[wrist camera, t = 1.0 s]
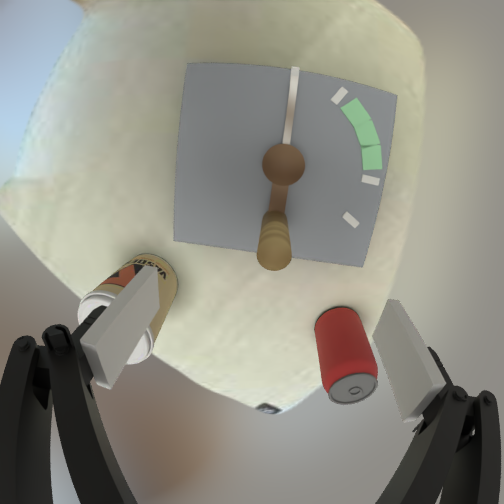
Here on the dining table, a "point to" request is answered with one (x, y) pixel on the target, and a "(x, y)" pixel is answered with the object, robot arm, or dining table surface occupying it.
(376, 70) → the dining table surface
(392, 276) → the dining table surface
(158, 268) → the coffee cup
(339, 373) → the beer can
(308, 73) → the board
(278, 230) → the peg dial
